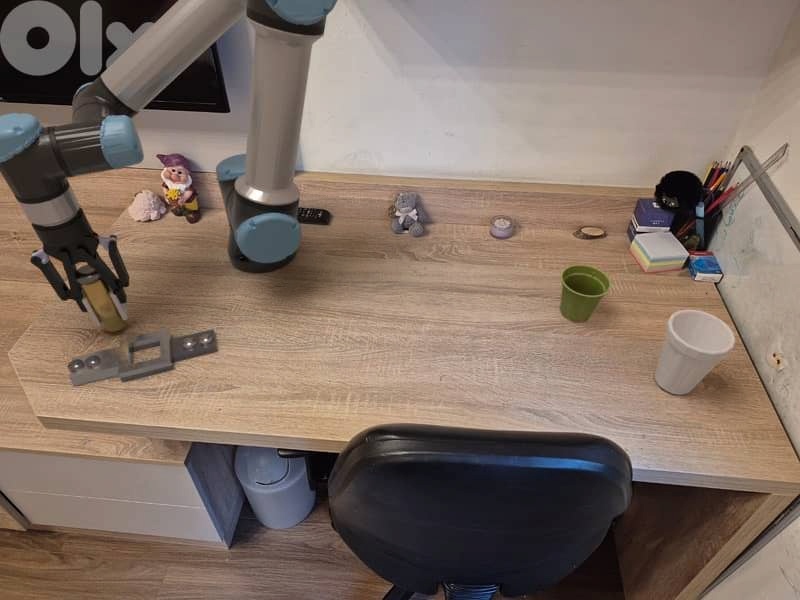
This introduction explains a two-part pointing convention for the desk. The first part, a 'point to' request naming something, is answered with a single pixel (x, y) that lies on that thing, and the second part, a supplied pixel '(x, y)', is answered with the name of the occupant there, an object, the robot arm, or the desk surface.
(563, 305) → the plant pot
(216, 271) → the desk surface
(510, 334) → the desk surface
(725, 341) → the cup
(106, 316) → the link pin
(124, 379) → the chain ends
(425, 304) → the desk surface
